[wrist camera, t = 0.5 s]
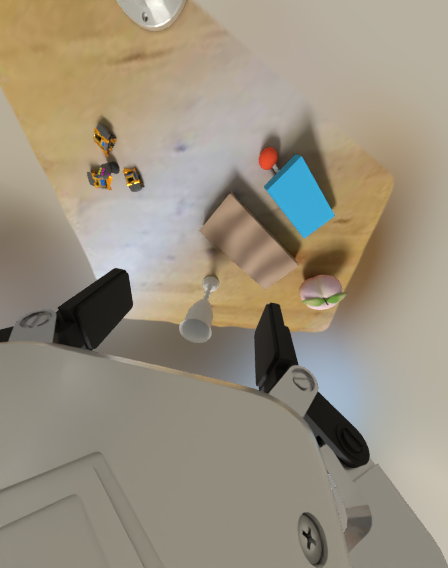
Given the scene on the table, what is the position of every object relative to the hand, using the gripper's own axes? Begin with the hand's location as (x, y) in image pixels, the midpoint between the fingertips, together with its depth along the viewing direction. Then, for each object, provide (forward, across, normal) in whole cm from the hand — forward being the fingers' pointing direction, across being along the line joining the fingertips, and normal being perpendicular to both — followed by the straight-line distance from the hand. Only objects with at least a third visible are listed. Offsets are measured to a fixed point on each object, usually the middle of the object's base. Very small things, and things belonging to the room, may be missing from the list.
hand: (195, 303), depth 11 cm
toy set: (+33, +27, -5) cm, 43 cm away
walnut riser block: (+33, -5, +6) cm, 34 cm away
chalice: (+33, +2, +20) cm, 39 cm away
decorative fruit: (+33, -25, +12) cm, 43 cm away
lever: (+33, -11, -6) cm, 35 cm away
